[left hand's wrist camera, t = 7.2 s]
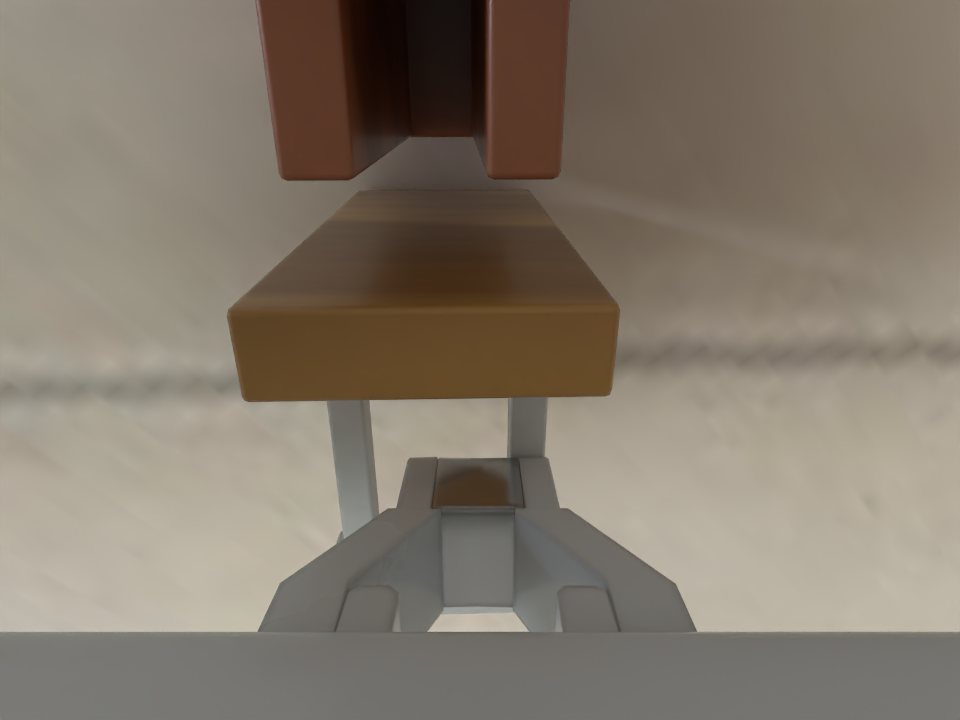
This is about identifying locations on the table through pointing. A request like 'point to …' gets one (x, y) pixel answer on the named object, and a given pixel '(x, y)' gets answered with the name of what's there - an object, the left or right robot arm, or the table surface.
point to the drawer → (421, 227)
